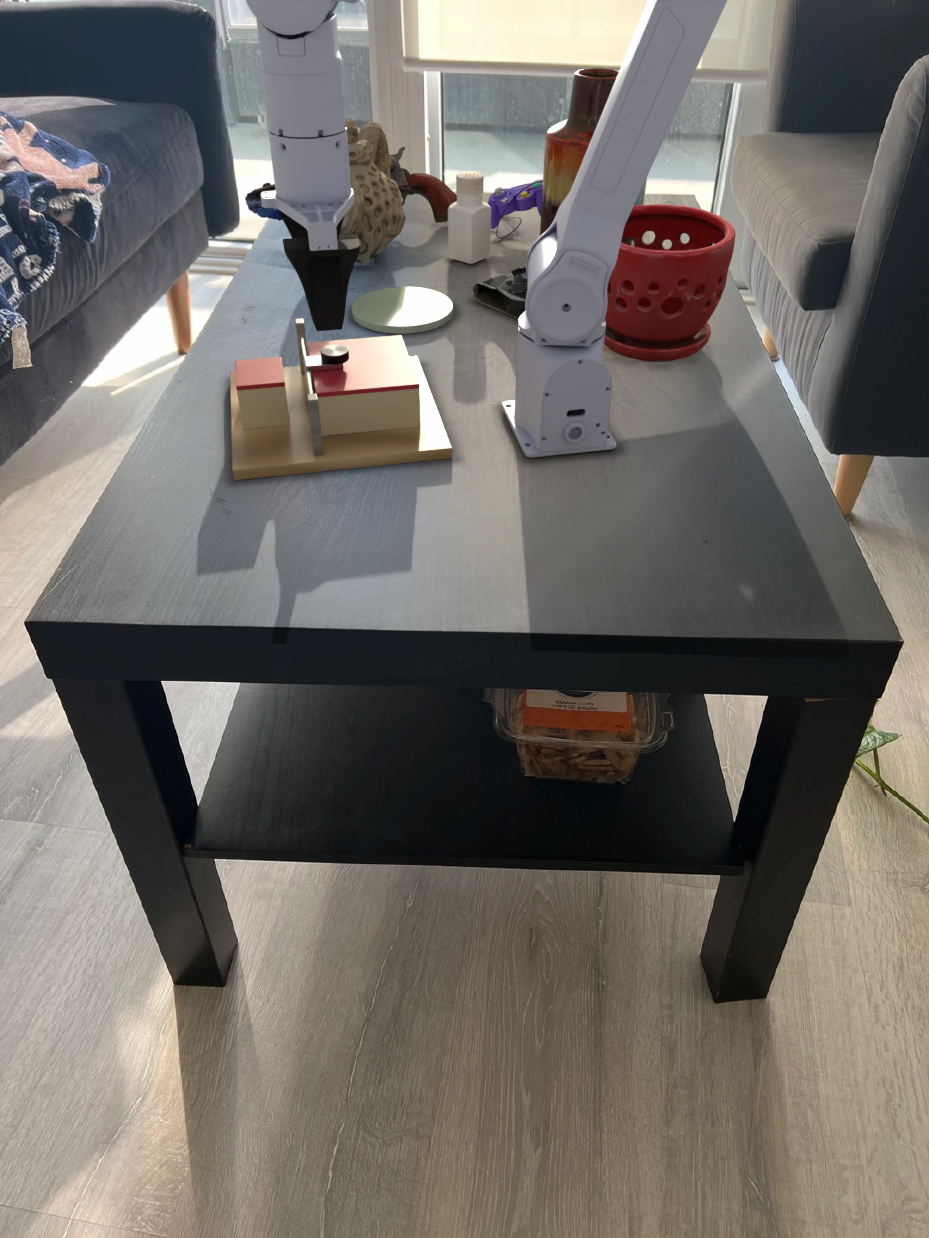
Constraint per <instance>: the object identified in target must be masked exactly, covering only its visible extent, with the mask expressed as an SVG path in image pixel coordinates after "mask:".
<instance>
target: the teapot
mask: <svg viewBox="0 0 929 1238" xmlns="http://www.w3.org/2000/svg"><path fill="white" fill-rule="evenodd" d="M346 127H347V140H348V153H349V167H350V181H351V188H352V189H353V191H354V204H353V205H352V207H351V208H350V209H349V210H348V212H347V213H346V215H345V217H344V220H343V223H342V227H341V230H340V235H339V240H346V239H358V240H359V243H360V252H359V256H358V258H357V260H356V262H355V263H357V264H360V265H363V266H364V265H368V264H369V262H371V260H373V259H375V257H376V255H377V254H378V253H380V252H382V251H384V250H385V249H387V248H388V246H389V245H390V244H391V242H392V241H394V240H395V239H396V238H397V237H398V236H399V235H401V232H402V231H403V229H404V226H405V222H406V220H407V217H406V215H405V211H404V208H403V206H402V201H403V200H402V194H401V192H400V190H399V188H398V185H397V183H396V182H395V181H393V180H392V179H391V174H390V162H389V155H390V152H389V145H388V140H387V136H386V133H385V132H384V130H383V126H382V125H381V124H380V123H379V122H376V121H370V120H369V121H367V122H366V123H365V124H363V125H362V126H361V127H360V128H359V130H358V126H357V125H356V124H355V122H354V120H353V119H352V118H346Z"/></svg>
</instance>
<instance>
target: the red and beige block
mask: <svg viewBox="0 0 929 1238" xmlns="http://www.w3.org/2000/svg"><path fill="white" fill-rule="evenodd" d="M306 343H307V352H308V356H320V355H321V353H320V351H321V349H322V348H323V347H326V346H329V345H342V346H345V347H347V348H348V350H349V360H348V361H347V362H345V363H343V365H344V369H334V370H323V371H311V372H310V374H311V383H312V389H313V394H314V393H316V394H317V398H318V405H319V415H320V424H321V433H322V436H329V435H339V434H349V433H360V432H370V431H381V430H391V429H402V428H412V427H420V426H421V419H420V389H419V388H420V384H419V382H418V379H417V376H416V373H415V371H414V368H413V365H412V362H411V360H410V355H409V351H408V348H407V346H406V342H405V341H404V338H403V334H397V335H386V336H371V337H360V338H347V339H335V340H324V341H323V340H322V341H321V340H320V341H310V342H306Z"/></svg>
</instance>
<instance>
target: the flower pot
mask: <svg viewBox="0 0 929 1238" xmlns="http://www.w3.org/2000/svg"><path fill="white" fill-rule="evenodd" d="M648 232H652V233H654V238H653V240H652V241H651V242H650V243H646V242H644V241H643V237H644V235H645V234H646V233H648ZM682 234H686V235H687V236H688V241H687V242H683V241H682V239H681V238H682V237H681V236H682ZM627 237H629V238H631V240H632V241H633V243H634V245H631V246H630V245H627V244H624V243H622V242H621V244H620V248H619V253H618V257H617V261H616V265H615V267H614V269H613V272H612V274H611V276H610V279H609V282H608V287H607V299H608V306H607V312H606V315H605V321H606V330H605V340H604V347H605V348H607V349H608V350H609V351H612V352H613V353H615V354H617V355H619V356H622V357H625V358H628V359H631V360H636V361H640V362H649V363H667V362H674V361H678V360H679V361H680V360H682V359H686V358H689V357H690V356H693V355H694V354H697V353H698V352H699V351H701V350H702V349H703V348H705V346H706V345H707V343H708V342H709V340H710V338H711V335H712V334H711V332H712V330H711V325H710V323H709V320H710V319H711V317H712V316H713V314H714V313H715V311H716V310H717V309H716V308H717V307H718V305H719V303H720V301H721V300H722V299H721V298H722V297H723V293H724V291H725V288H726V284H727V279H728V273H729V268H730V265H731V262H732V259H733V255H734V249H735V242H736V229H735V227H734V226H733V224H732V223H730V222H729V221H728V220H727V219H725V218H724V217H722V216H720V215H717V213H715V212H712V211H711V212H710V211H709V210H706V209H701V208H697V207H693V206H687V205H677V204H665V203H664V204H660V203H657V204H656V203H655V204H654V203H653V204H643V205H638V206H633V209H632V211H631V213H630V215H629V217H628V220H627V222H626V224H625V227H624V230H623V235H622V239H621V241H622V240H623V239H624V238H627ZM666 240H667V241H668V240H669V241H670V243H671V246H670V247H669V248H665V247H664V246H663V243H664V242H665V241H666Z"/></svg>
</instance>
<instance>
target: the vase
mask: <svg viewBox="0 0 929 1238" xmlns="http://www.w3.org/2000/svg"><path fill="white" fill-rule="evenodd" d="M618 73H619V70H617V69H612V68H603V67H601V68H599V67H598V68H596V67H594V68H593V67H592V68H583V69H578V70H577V71H575V72H574V74H573V81H572V86H571V87H572V89H571V94H570V102H569V111H568V115H567V118H566V119H564V120H562V121H560V122H558V123H556V124H554V125H552V126H551V127H550V128H548V130H547V131H546V133H545V141H544V143H545V144H544V154H543V155H544V156H543V157H544V158H543V174H542V180H543V189H542V207H541V216H540V226H539V227H540V228H539V236H541V235H542V234H543V233H544V232H545V231H546V230H547V229H548V228H549V227H550V225H551V224H552V222H553V221H554V218H555V216H556V214H557V211H558V209H559V207H560V205H561V204H562V202H563V201H564V200H565V198H566V197H567V195H568V194H569V192H570V190H571V188H572V186H573V183H574V181H575V178H576V176H577V173H578V171H579V168H580V166H581V164H582V161H583V159H584V156H585V154H586V151H587V149H588V146H589V144H590V142H591V139H592V137H593V134H594V132H595V129H596V127H597V124H598V122H599V119H600V117H601V115H602V112H603V110H604V107H605V105H606V102H607V100H608V97H609V95H610V92H611V90H612V88H613V85H614V83H615V80H616V78H617V75H618ZM635 205H636V202H635V204H634V206H635ZM621 242H622V243H624V244H627V245H630V246H632V239H631V238H629V237H627V238H624V239H623V240H622V241H621Z"/></svg>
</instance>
